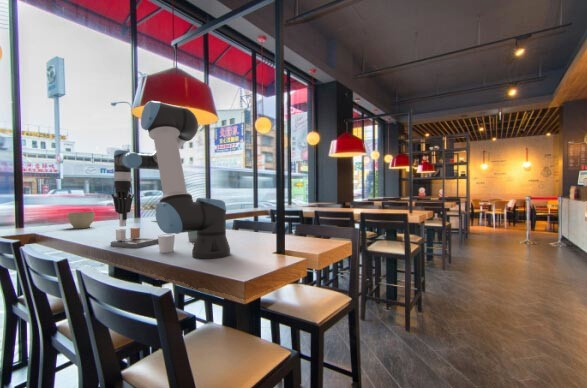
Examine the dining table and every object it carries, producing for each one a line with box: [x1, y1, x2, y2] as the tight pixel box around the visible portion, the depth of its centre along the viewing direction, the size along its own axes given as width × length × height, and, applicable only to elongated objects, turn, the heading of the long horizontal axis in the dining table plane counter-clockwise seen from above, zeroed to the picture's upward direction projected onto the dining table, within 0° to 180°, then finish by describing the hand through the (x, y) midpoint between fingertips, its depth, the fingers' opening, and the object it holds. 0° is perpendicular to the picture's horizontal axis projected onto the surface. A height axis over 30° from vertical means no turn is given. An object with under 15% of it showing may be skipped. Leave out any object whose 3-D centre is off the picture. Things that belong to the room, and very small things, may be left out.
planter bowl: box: [66, 211, 96, 229], centre depth 214 cm, size 16×16×11 cm
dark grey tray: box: [110, 237, 159, 249], centre depth 147 cm, size 16×14×2 cm
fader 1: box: [115, 228, 127, 241], centre depth 146 cm, size 3×3×5 cm
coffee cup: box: [187, 231, 197, 243], centre depth 157 cm, size 8×8×12 cm
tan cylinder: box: [129, 227, 141, 238], centre depth 152 cm, size 3×3×5 cm
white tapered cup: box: [157, 233, 176, 254], centre depth 131 cm, size 7×7×7 cm
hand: (122, 226), depth 155 cm, fingers closed
